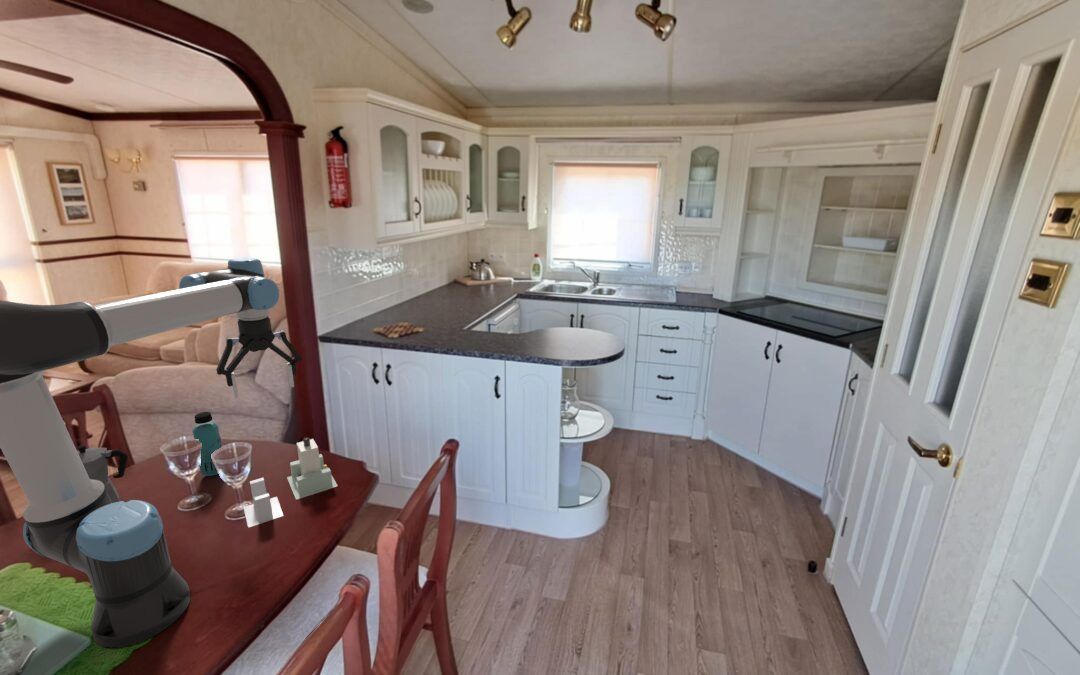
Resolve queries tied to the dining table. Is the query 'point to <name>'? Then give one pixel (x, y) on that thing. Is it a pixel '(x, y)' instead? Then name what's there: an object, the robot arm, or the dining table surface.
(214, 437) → the beverage bottle
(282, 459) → the dining table surface
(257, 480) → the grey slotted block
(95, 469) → the coffeepot
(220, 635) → the dining table surface
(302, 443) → the white tall block
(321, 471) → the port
